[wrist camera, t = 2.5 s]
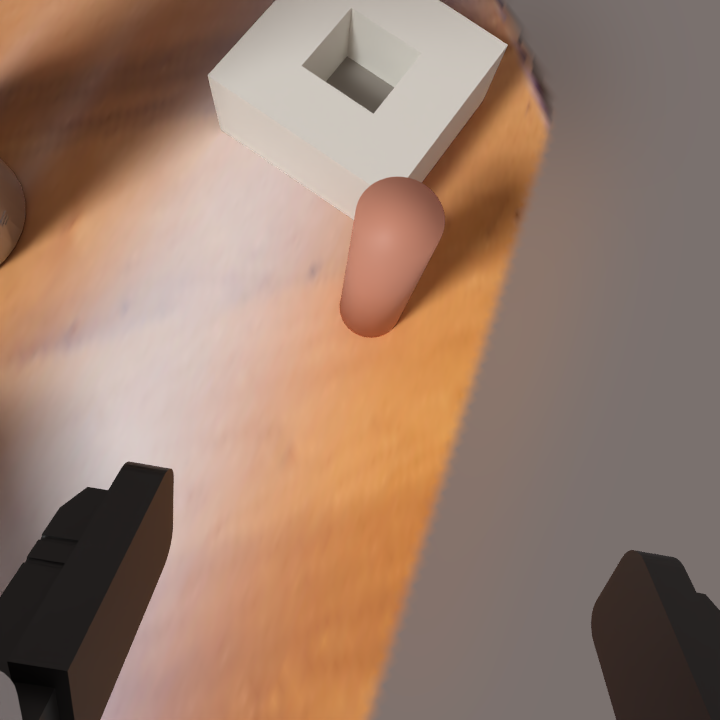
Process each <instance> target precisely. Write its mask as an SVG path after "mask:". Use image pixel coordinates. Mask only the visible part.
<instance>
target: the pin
mask: <svg viewBox="0 0 720 720" xmlns="http://www.w3.org/2000/svg"><path fill="white" fill-rule="evenodd" d="M444 227H445V215H444V210H443V207H442V205H441V202H440V201H439V199H438V197H437V196H436V195H435V193H434V192H433V191H432V190H431V189H430V188H428V187H427V186H426V185H424V184H423V183H421V182H419V181H417V180H414V179H411V178H407V177H389V178H384V179H381V180H379V181H377V182H375V183H373V184H372V185H371V186H369V187H368V188H367V189H366V190H365V191H364V192H363V194H362V195H361V197H360V199H359V201H358V203H357V206H356V211H355V217H354V223H353V229H352V235H351V241H350V247H349V253H348V259H347V265H346V271H345V277H344V283H343V289H342V295H341V301H340V313H341V317H342V320H343V321H344V323H345V325H346V326H347V327H348V328H349V329H350V330H351V331H352V332H354V333H356V334H358V335H360V336H363V337H371V338H372V337H379V336H382V335H384V334H386V333H388V332H389V331H391V330H392V329H393V328H394V326H395V325H396V323H397V322H398V320H399V318H400V316H401V314H402V312H403V310H404V308H405V306H406V304H407V302H408V301H409V299H410V297H411V295H412V293H413V291H414V289H415V287H416V285H417V283H418V281H419V279H420V277H421V276H422V274H423V272H424V270H425V268H426V266H427V264H428V262H429V260H430V258H431V256H432V254H433V252H434V250H435V249H436V247H437V245H438V243H439V241H440V239H441V237H442V234H443V231H444Z"/></svg>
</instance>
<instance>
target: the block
mask: <svg viewBox="0 0 720 720" xmlns="http://www.w3.org/2000/svg"><path fill="white" fill-rule="evenodd" d="M507 46H508V45H507V44H506V43H504V42H503V41H501V40H500V39H498V38H497V37H495V36H493V35H492V34H490V33H489V32H487V31H486V30H484V29H483V28H481V27H480V26H478V25H477V24H475V23H473V22H472V21H470V20H469V19H467V18H466V17H464V16H463V15H461V14H460V13H458V12H456V11H455V10H453V9H452V8H450V7H449V6H447V5H446V4H444V3H443V2H441V1H439V0H275V1H274V2H273V3H272V5H271V6H270V7H269V8H268V9H267V10H266V11H265V12H264V13H263V15H262V16H261V17H260V18H259V19H258V20H257V21H256V22H255V23H254V24H253V26H252V27H251V28H250V29H249V30H248V31H247V32H246V33H245V34H244V36H243V37H242V38H241V39H240V40H239V41H238V42H237V43H236V44H235V45H234V47H233V48H232V49H231V50H230V51H229V52H228V53H227V54H226V55H225V57H224V58H223V59H222V60H221V61H220V62H219V63H218V64H217V65H216V66H215V68H214V69H213V70H212V71H211V72H210V73H209V74H208V79H209V84H210V88H211V92H212V96H213V100H214V104H215V109H216V113H217V117H218V121H219V125H220V129H221V130H222V131H223V132H225V133H226V134H228V135H229V136H230V137H232V138H233V139H235V140H236V141H238V142H239V143H241V144H242V145H244V146H245V147H247V148H248V149H250V150H251V151H253V152H254V153H256V154H257V155H258V156H260V157H261V158H263V159H264V160H266V161H267V162H269V163H270V164H272V165H273V166H275V167H276V168H278V169H279V170H281V171H282V172H283V173H285V174H286V175H288V176H289V177H291V178H292V179H294V180H295V181H297V182H298V183H300V184H301V185H303V186H304V187H306V188H307V189H309V190H310V191H311V192H313V193H314V194H316V195H317V196H319V197H320V198H322V199H323V200H325V201H326V202H328V203H329V204H331V205H332V206H334V207H335V208H336V209H338V210H339V211H341V212H342V213H344V214H345V215H347V216H348V217H350V218H351V219H353V220H354V217H355V211H356V206H357V203H358V201H359V199H360V197H361V195H362V194H363V192H364V191H365V190H366V189H367V188H368V187H369V186H371V185H372V184H373V183H375V182H377V181H379V180H381V179H384V178H389V177H407V178H411V179H414V180H417V181H419V182H421V183H422V182H423V180H424V179H425V178H426V176H427V175H428V174H429V172H430V171H431V170H432V168H433V167H434V166H435V164H436V163H437V162H438V160H439V159H440V158H441V156H442V155H443V154H444V152H445V151H446V150H447V148H448V147H449V146H450V144H451V143H452V142H453V140H454V139H455V138H456V136H457V135H458V133H459V132H460V131H461V129H462V128H463V127H464V125H465V124H466V123H467V121H468V120H469V119H470V117H471V116H472V115H473V113H474V112H475V111H476V109H477V108H478V107H479V105H480V104H481V103H482V101H483V100H484V98H485V95H486V93H487V91H488V89H489V86H490V84H491V82H492V80H493V77H494V75H495V73H496V71H497V68H498V66H499V64H500V62H501V59H502V57H503V55H504V53H505V50H506V48H507Z"/></svg>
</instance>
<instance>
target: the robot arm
mask: <svg viewBox="0 0 720 720" xmlns="http://www.w3.org/2000/svg"><path fill="white" fill-rule="evenodd" d="M25 216H26V213H25V198H24V194H23V191H22V187H21V185H20V183H19V181H18V179H17V177H16V176H15V174H14V172H13V171H12V170H11V169H10V168H9V167H8V166H7V165H6V163H5V162H4V161H3V160H2V159H1V158H0V264H1V263H2V262H3V261H4V260H5V259H6V258H7V257H8V255H9V254H10V253H11V251H12V250H13V249H14V247H15V246H16V244H17V241H18V239H19V237H20V235H21V233H22V230H23V225H24V221H25ZM173 483H174V475H173V470H172V469H169V468H163V467H158V466H152V465H146V464H140V463H134V462H127V463H125V464H124V465H123V467H122V468H121V470H120V471H119V473H118V475H117V477H116V478H115V480H114V482H113V483H112V485H111V487H110V488H109V490H103V489H97V488H91V487H87V488H86V489H84V490H83V491H82V492H80V493H79V494H78V495H76V496H75V497H73V498H72V499H71V500H69V501H68V502H67V503H65V504H64V505H63V506H61V507H60V508H59V510H58V511H57V513H56V514H55V516H54V517H53V519H52V520H51V522H50V523H49V525H48V526H47V528H46V529H45V531H44V532H43V534H42V538H41V540H38V541H37V543H36V544H35V546H34V547H33V549H32V550H31V552H30V553H29V555H28V556H27V560H26V562H25V563H23V564H22V565H21V567H20V568H19V570H18V571H17V573H16V574H15V576H14V577H13V579H12V580H11V582H10V583H9V585H8V586H7V588H6V589H5V591H4V592H3V594H2V595H1V597H0V720H100V719H101V717H102V714H103V712H104V709H105V707H106V705H107V702H108V700H109V697H110V695H111V693H112V690H113V688H114V685H115V683H116V681H117V678H118V676H119V673H120V671H121V669H122V666H123V664H124V661H125V659H126V657H127V654H128V652H129V649H130V647H131V645H132V642H133V640H134V637H135V635H136V633H137V630H138V628H139V625H140V623H141V621H142V618H143V616H144V613H145V611H146V609H147V606H148V604H149V601H150V599H151V597H152V594H153V592H154V589H155V587H156V585H157V582H158V580H159V577H160V575H161V573H162V570H163V568H164V565H165V562H166V560H167V556H168V553H169V549H170V545H171V539H172V532H173ZM591 628H592V637H593V641H594V645H595V648H596V651H597V655H598V658H599V662H600V665H601V669H602V672H603V675H604V679H605V682H606V686H607V689H608V692H609V696H610V699H611V703H612V706H613V710H614V713H615V716H616V720H720V610H719V609H718V608H717V607H716V606H715V605H714V604H713V602H712V601H711V600H710V599H709V598H708V597H707V596H706V595H705V594H701V593H696V591H695V589H694V587H693V585H692V583H691V580H690V578H689V576H688V574H687V572H686V570H685V568H684V566H683V565H682V563H681V562H680V561H679V560H678V559H676V558H674V557H669V556H663V555H658V554H652V553H645V552H640V551H634V550H630V551H628V552H627V553H626V554H624V556H623V557H622V559H621V561H620V562H619V564H618V566H617V567H616V569H615V571H614V572H613V574H612V576H611V577H610V579H609V581H608V583H607V584H606V586H605V587H604V589H603V591H602V592H601V594H600V596H599V597H598V599H597V601H596V603H595V605H594V608H593V612H592V620H591Z"/></svg>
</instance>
